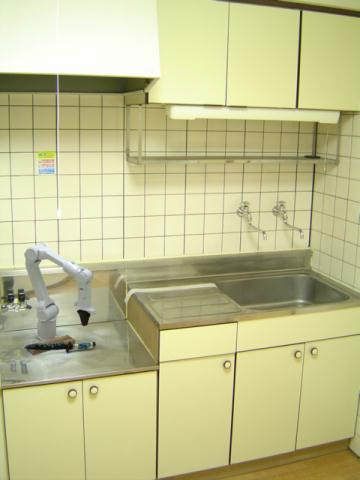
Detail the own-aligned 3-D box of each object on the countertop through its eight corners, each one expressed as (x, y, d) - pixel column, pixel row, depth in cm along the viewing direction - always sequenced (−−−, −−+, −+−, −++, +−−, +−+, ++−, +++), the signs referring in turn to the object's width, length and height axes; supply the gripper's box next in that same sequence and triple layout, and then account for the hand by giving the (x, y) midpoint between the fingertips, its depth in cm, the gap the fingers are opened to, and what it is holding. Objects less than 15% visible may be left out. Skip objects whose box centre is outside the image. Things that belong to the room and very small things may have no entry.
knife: (94, 350, 240) (95, 340, 240) (95, 352, 237) (96, 342, 237) (23, 351, 231) (24, 341, 230) (23, 353, 228) (24, 343, 227)
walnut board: (26, 349, 236) (26, 344, 236) (67, 338, 249) (67, 334, 248) (33, 354, 231) (33, 350, 231) (75, 343, 244) (75, 339, 243)
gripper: (68, 293, 240) (68, 322, 243) (85, 302, 230) (85, 332, 233) (81, 291, 245) (82, 319, 248) (99, 299, 234) (99, 328, 237)
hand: (84, 325), depth 241 cm, fingers closed
